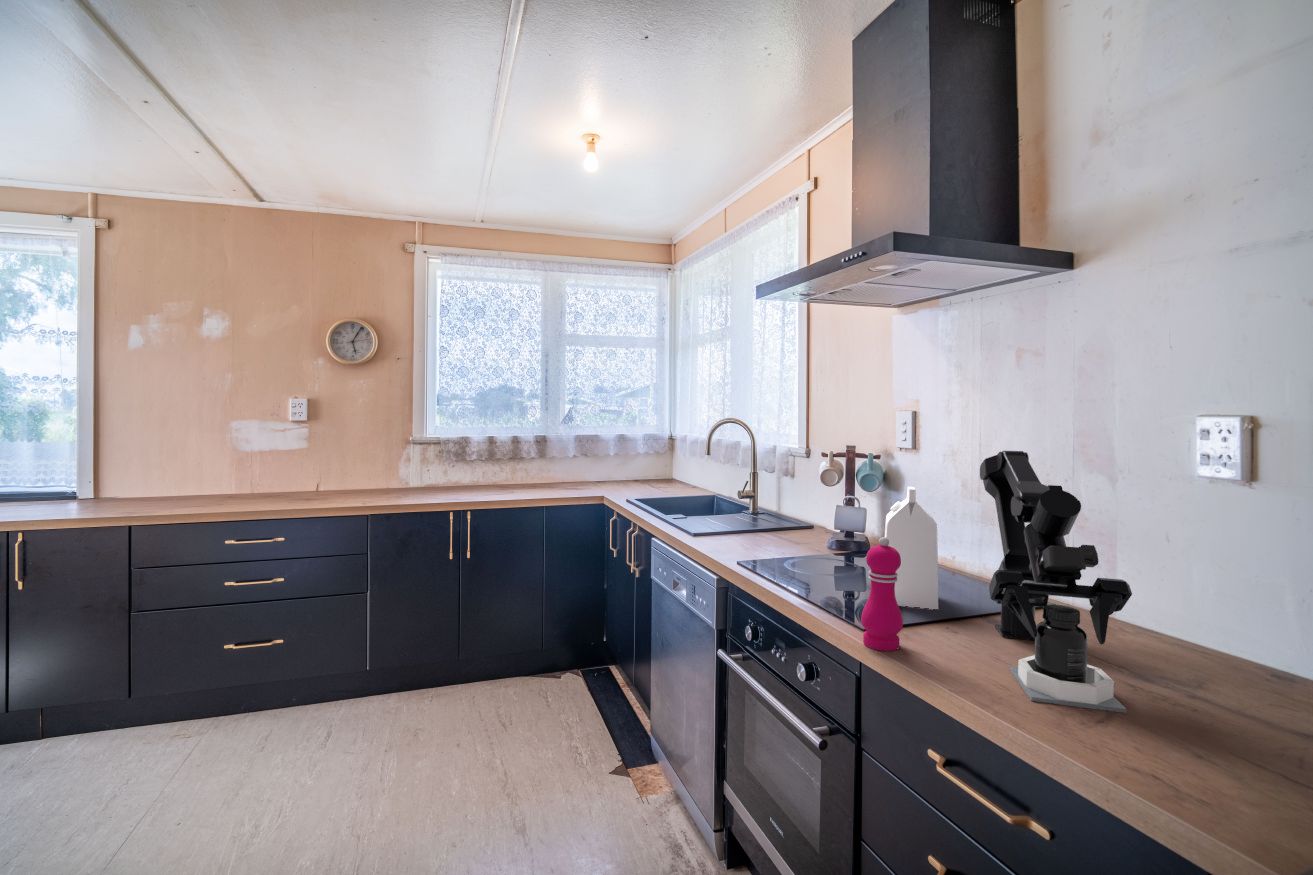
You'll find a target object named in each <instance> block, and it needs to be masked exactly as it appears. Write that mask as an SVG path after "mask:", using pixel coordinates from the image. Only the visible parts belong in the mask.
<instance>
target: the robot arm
mask: <svg viewBox="0 0 1313 875" xmlns="http://www.w3.org/2000/svg"><path fill="white" fill-rule="evenodd" d="M1029 460H1030V459H1029V454H1028V452H1026V451H1025V452H1024V451H1022V450H1003V451H998V453H997V454H995V455H993V456H990V457H989V456H988V457H986V458H984V460H983V461H982V462H981V463H980V465H979V478H980V480H981V481H982V483H983V486H984V487H983V488H984V490H985V492H987V493H988V494H989V495H990V496H991V497H992V498H993V499H994V502H995V508H996V509H995V510H996V515H997V521H998V527H999V532H1000V539H1001V547H1002V552H1003V559H1002V561H1001V562H1000V565H999V567H998V569H997V570H996V571H994V572H993V574H992V576H991V580H990V582H989V587H988V588H989V589H988V592H989V597H990V598H989V599H991V600H992V601H994V602H996V604H998V605H1000V604H1001V607H1000V608H1001V609H1000V624H999V623H996V624H994V627H995V629H996V630H997V631H998V632H999V634H1000V635H1001V636H1002V637H1003V638H1011V639H1020V640H1021V639H1022V640H1029V641H1030V640H1033V641H1035V638H1036V637H1037V628H1036V626H1037V624H1036V620H1035V619H1036V607H1037V608H1043V606H1045V605H1048V602H1049V597H1050V596H1052V597H1053V596H1054V597H1065V598H1066V597H1067V598H1077V599H1086V600H1087V599H1088V601H1089V605H1090V606H1091V608H1090V610H1089V614H1090V618H1091V621H1092V626H1093V629H1094V633H1095V636H1096V639H1097V640H1098V643H1099V644H1100V645H1104V644H1105V642H1106V640H1107V639H1106V638H1107V637H1106V636H1107V631H1108V624H1109V617H1110V616H1111V615H1113V614H1114V613H1116V612H1120V611H1122V610H1123V608H1124V607H1126V606H1125V605H1126V604H1127V603H1128V601H1129V600H1130V599H1131V597H1132V595H1133V592H1132V589H1131V586H1130V584H1129V583H1128V582H1127V581H1126V580H1124V579H1119V578H1107V577H1097V578H1096V579H1095V581H1094V583H1093V585H1084V584H1083V585H1081V584H1077V581H1079V580H1081V578H1082V571H1084V570H1087V568H1095V567H1096V566H1097V565H1098V564H1099V555H1098V551H1097V550H1096V549H1097V548H1096V546H1095V545H1093V544H1081V545H1080V546H1078V547H1077V546H1067V544H1066V539H1065V537H1064V536H1067V535H1070V533H1071V530H1072V529H1073V527H1074V524H1075V522H1076V520H1077V518H1078V517H1079V513H1080V512H1081V510H1082V503H1081V501H1080V500H1079V499H1078V498H1077V497H1076V496H1075V495H1074V494H1072V493H1071V492H1068V491H1065V490H1063V486H1062V485H1057V484H1056V485H1053V484H1048V485H1045V484H1042V482H1041V481H1040V479H1039V477H1038V475H1037V474H1036V472H1035V470H1034V468H1033V466H1032V464H1031V463H1030V461H1029ZM1025 523H1027V525H1026V524H1025Z"/></svg>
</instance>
